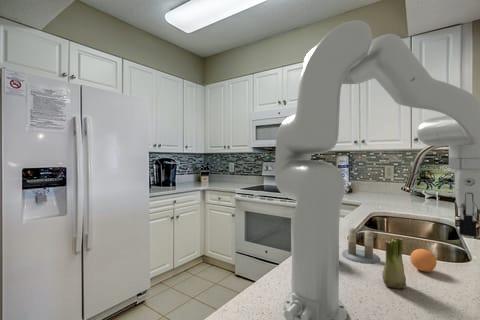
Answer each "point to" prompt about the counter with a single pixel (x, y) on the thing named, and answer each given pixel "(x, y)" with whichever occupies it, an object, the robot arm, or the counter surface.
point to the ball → (423, 260)
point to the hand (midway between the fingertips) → (467, 234)
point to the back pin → (352, 241)
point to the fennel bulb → (394, 265)
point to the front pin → (369, 244)
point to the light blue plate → (360, 256)
